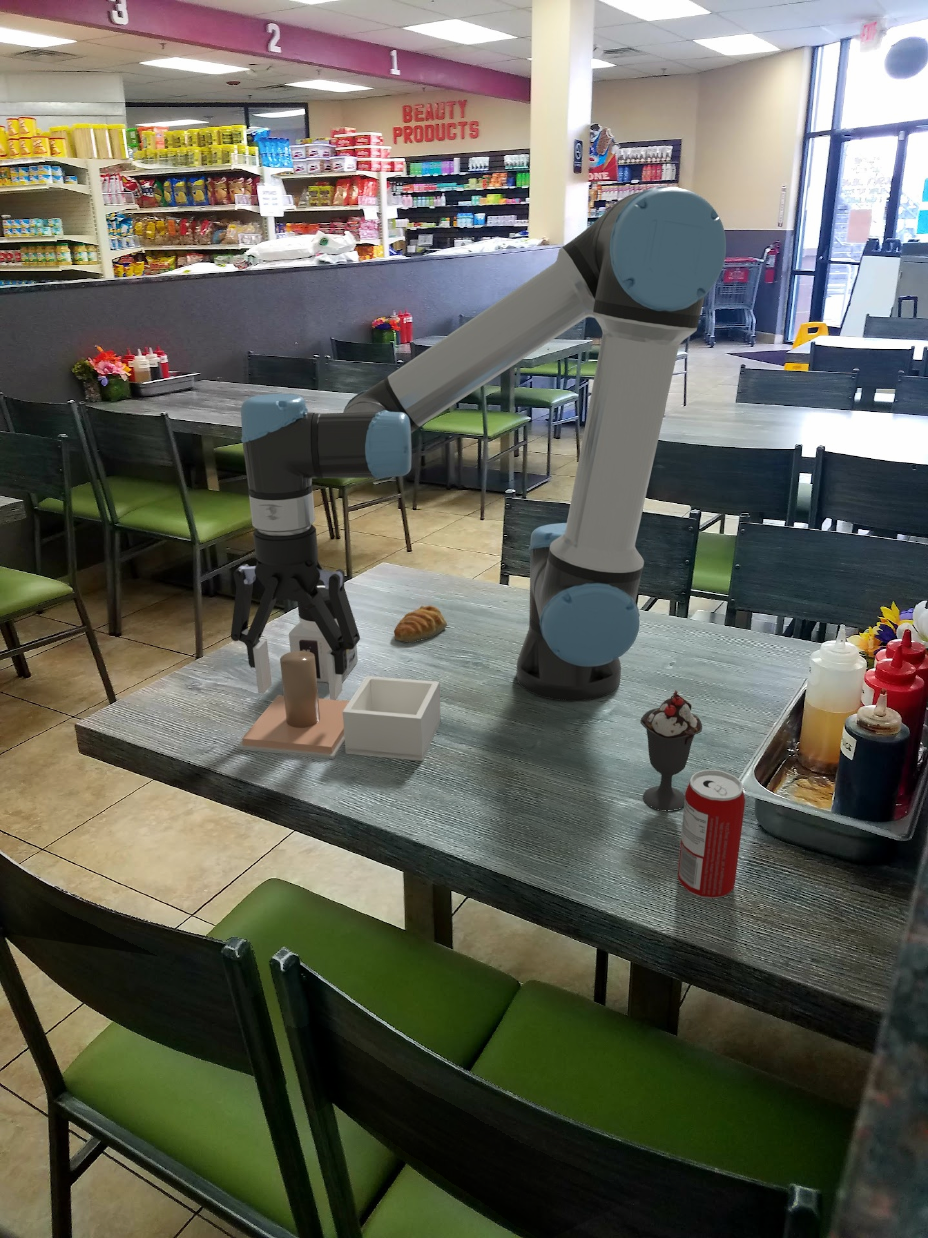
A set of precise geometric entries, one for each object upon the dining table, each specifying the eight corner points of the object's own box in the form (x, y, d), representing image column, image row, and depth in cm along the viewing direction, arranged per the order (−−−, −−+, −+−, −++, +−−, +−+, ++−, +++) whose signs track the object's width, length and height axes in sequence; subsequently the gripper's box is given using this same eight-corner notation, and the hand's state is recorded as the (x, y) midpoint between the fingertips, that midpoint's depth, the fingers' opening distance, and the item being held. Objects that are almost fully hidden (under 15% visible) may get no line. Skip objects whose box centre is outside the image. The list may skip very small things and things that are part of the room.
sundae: (657, 822, 100) (667, 702, 94) (624, 791, 105) (631, 676, 99) (706, 807, 102) (719, 690, 96) (671, 778, 108) (681, 665, 102)
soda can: (742, 879, 91) (756, 777, 86) (720, 909, 87) (733, 804, 82) (691, 858, 94) (701, 759, 89) (667, 886, 90) (677, 784, 85)
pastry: (417, 649, 143) (416, 627, 141) (383, 640, 146) (382, 619, 145) (450, 629, 150) (449, 607, 149) (417, 621, 154) (416, 600, 152)
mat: (365, 709, 125) (365, 706, 124) (334, 759, 113) (334, 756, 113) (277, 701, 127) (276, 699, 127) (237, 749, 115) (237, 746, 115)
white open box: (440, 721, 121) (439, 681, 119) (422, 761, 112) (420, 718, 110) (369, 715, 123) (366, 675, 121) (345, 753, 114) (342, 711, 112)
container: (342, 684, 132) (335, 602, 127) (292, 680, 133) (284, 598, 128) (358, 661, 139) (353, 582, 133) (310, 658, 140) (303, 579, 135)
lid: (361, 708, 124) (356, 642, 120) (332, 753, 113) (325, 682, 109) (279, 701, 126) (271, 636, 122) (242, 745, 115) (233, 675, 112)
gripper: (186, 531, 108) (210, 698, 117) (361, 540, 103) (372, 712, 112) (214, 513, 114) (235, 672, 123) (380, 521, 110) (388, 685, 119)
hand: (300, 691), depth 118 cm, fingers open, 9 cm apart
